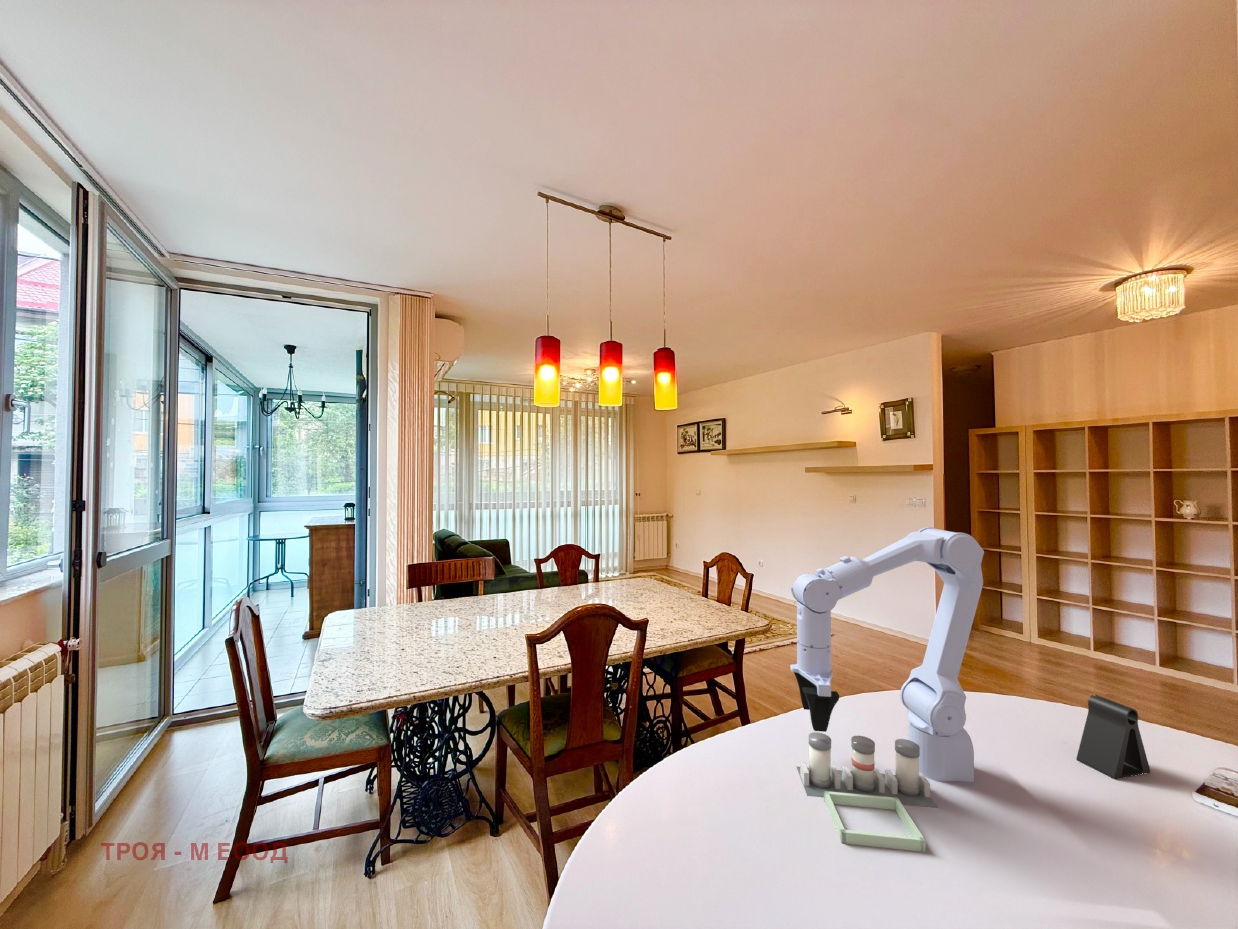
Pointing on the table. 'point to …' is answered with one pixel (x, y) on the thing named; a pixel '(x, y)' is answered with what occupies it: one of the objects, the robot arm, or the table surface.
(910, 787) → the fuse
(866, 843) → the tray
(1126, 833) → the table surface
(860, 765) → the marked fuse
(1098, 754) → the phone stand
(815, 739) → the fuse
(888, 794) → the clip board
